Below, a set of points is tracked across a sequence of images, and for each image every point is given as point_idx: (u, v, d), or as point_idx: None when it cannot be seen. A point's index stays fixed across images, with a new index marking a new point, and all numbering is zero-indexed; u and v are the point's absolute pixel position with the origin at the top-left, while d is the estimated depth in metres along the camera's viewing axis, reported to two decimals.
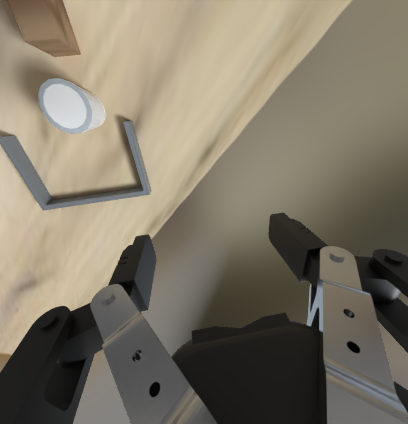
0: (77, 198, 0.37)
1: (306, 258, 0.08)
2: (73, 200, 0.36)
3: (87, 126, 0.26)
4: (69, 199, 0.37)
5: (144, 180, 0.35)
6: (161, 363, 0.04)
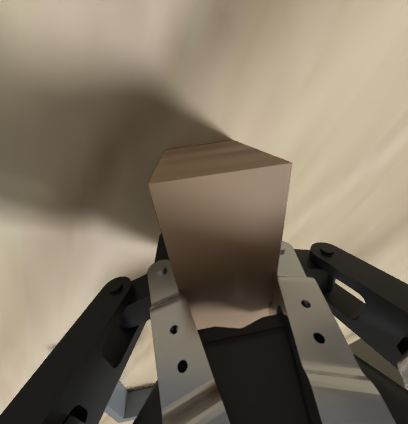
0: None
1: None
2: None
3: None
4: None
5: None
6: (192, 346, 0.04)
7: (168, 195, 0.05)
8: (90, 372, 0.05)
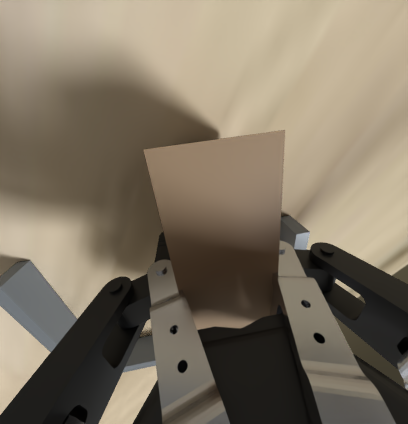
0: (146, 344, 0.19)
1: None
2: (142, 357, 0.18)
3: None
4: None
5: None
6: (192, 346, 0.04)
7: (163, 162, 0.05)
8: (90, 372, 0.05)
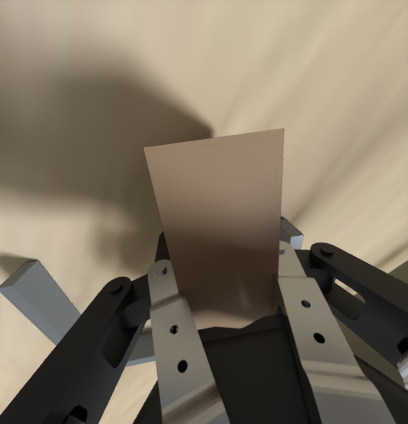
0: (148, 340, 0.20)
1: None
2: (144, 352, 0.19)
3: None
4: None
5: None
6: (192, 346, 0.04)
7: (163, 160, 0.05)
8: (90, 372, 0.05)
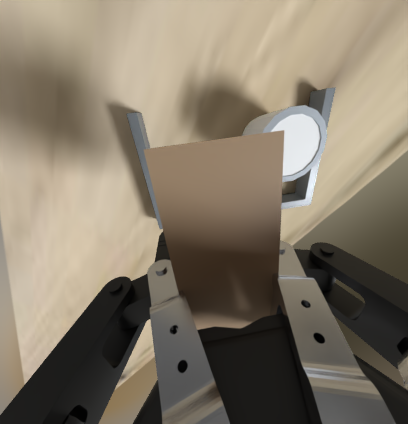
0: None
1: None
2: None
3: (306, 171, 0.18)
4: None
5: (313, 184, 0.23)
6: (192, 346, 0.04)
7: (163, 162, 0.05)
8: (90, 372, 0.05)
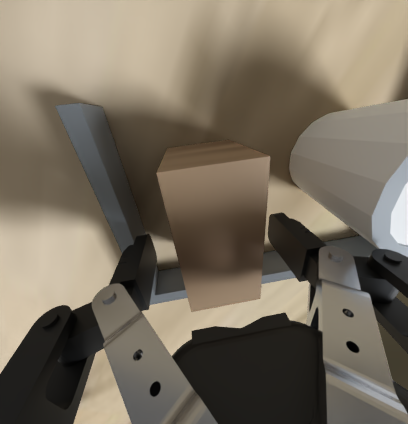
0: None
1: (305, 258, 0.08)
2: None
3: None
4: None
5: None
6: (162, 363, 0.04)
7: (172, 182, 0.06)
8: (33, 423, 0.04)
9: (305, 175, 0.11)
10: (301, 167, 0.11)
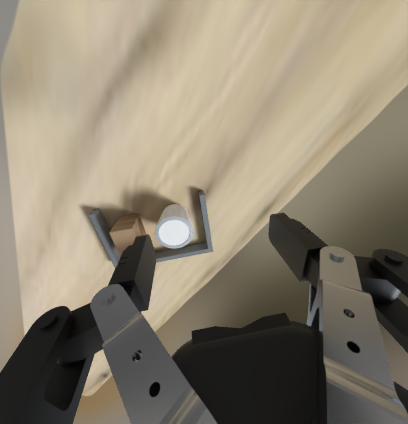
0: None
1: (306, 258, 0.08)
2: None
3: (187, 243, 0.32)
4: None
5: (210, 240, 0.38)
6: (161, 363, 0.04)
7: (112, 234, 0.30)
8: None
9: None
10: None
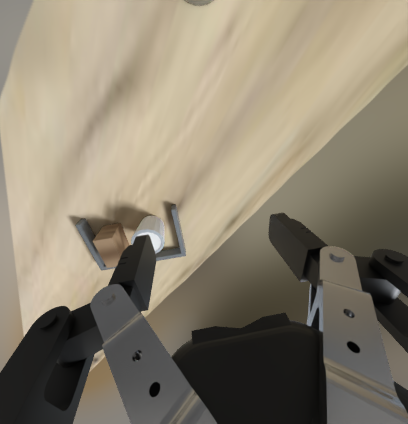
0: None
1: (306, 258, 0.08)
2: None
3: (159, 250, 0.38)
4: None
5: (182, 246, 0.44)
6: (161, 363, 0.04)
7: (95, 242, 0.36)
8: None
9: None
10: None
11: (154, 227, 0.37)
